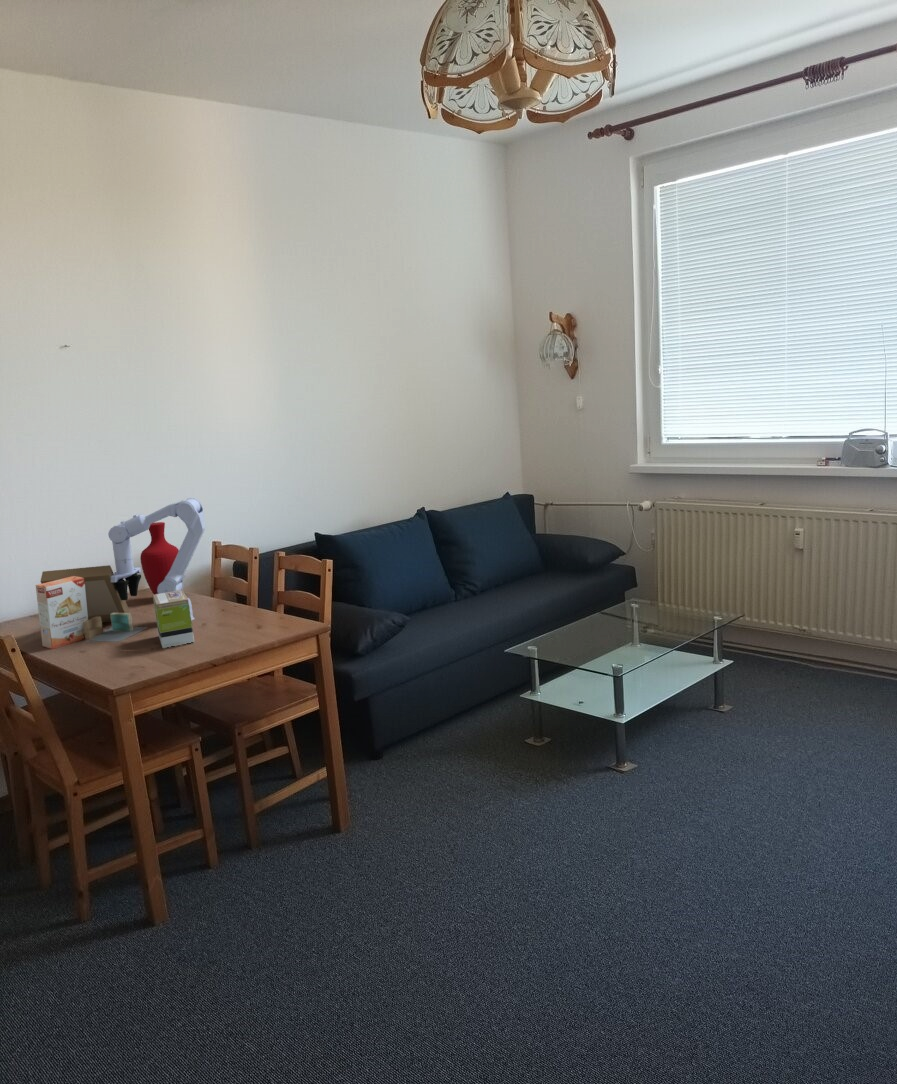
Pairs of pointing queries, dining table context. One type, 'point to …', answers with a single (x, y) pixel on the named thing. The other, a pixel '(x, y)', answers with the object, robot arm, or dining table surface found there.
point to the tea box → (173, 618)
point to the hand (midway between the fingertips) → (129, 597)
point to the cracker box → (62, 611)
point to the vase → (157, 557)
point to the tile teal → (121, 621)
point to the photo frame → (94, 590)
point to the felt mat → (116, 635)
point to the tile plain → (93, 627)
